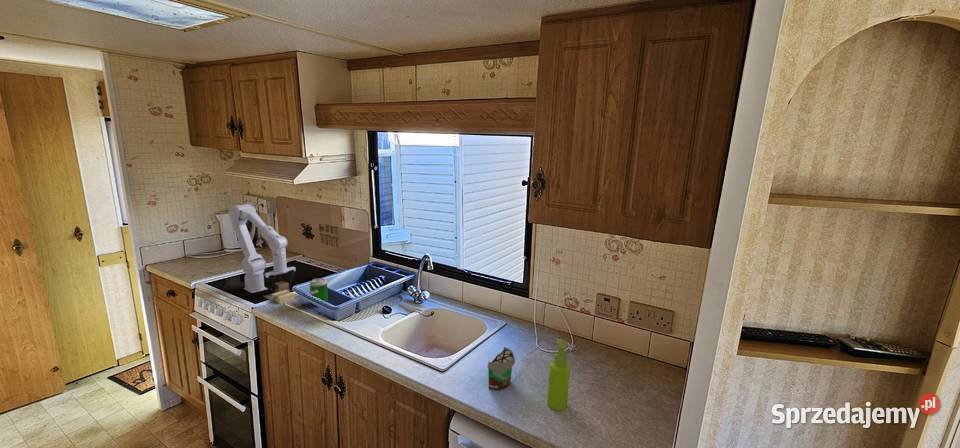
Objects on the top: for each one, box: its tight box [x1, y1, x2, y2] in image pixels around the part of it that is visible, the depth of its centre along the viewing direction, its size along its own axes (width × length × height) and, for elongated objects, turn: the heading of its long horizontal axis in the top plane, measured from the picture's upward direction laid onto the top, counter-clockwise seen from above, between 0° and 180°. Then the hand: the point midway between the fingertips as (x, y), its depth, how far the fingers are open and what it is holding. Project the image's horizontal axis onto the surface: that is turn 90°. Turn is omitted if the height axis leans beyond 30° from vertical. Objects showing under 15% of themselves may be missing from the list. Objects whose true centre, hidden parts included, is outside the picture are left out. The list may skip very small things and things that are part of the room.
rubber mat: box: [263, 292, 299, 305], centre depth 196 cm, size 15×11×1 cm
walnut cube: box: [273, 280, 290, 293], centre depth 200 cm, size 5×5×5 cm
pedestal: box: [271, 290, 295, 305], centre depth 192 cm, size 7×7×3 cm
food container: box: [487, 346, 516, 391], centre depth 130 cm, size 12×6×10 cm, turn 151°
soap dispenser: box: [546, 338, 571, 411], centre depth 121 cm, size 6×7×20 cm
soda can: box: [309, 277, 329, 302], centre depth 189 cm, size 8×8×12 cm
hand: (281, 287), depth 200 cm, fingers open, 7 cm apart
